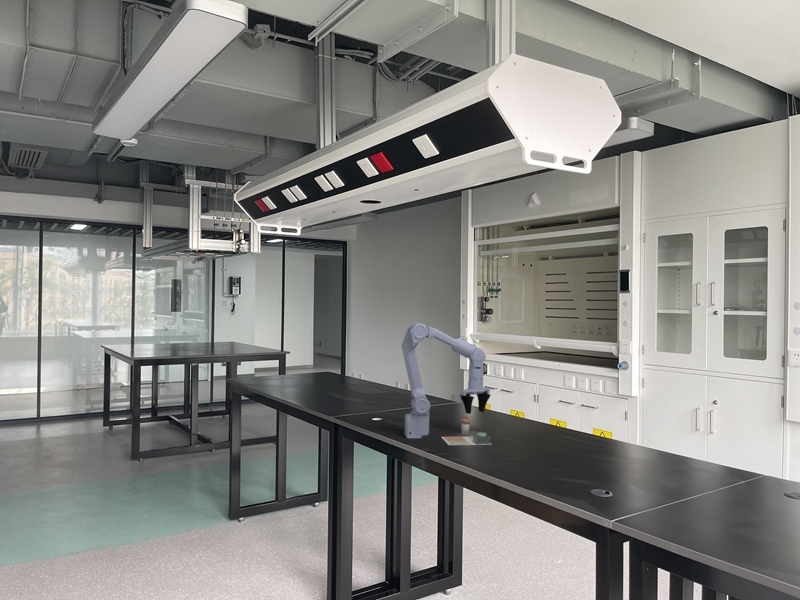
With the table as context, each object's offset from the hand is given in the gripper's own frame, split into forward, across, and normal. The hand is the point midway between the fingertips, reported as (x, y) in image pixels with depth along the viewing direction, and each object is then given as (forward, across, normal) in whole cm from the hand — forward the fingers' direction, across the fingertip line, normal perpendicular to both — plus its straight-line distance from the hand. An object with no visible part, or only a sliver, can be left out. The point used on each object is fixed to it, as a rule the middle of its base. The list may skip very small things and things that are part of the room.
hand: (474, 412), depth 226 cm
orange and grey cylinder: (+9, -3, +2) cm, 10 cm away
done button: (+6, -10, -13) cm, 17 cm away
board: (+9, -12, -7) cm, 17 cm away
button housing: (+8, -10, -13) cm, 18 cm away
